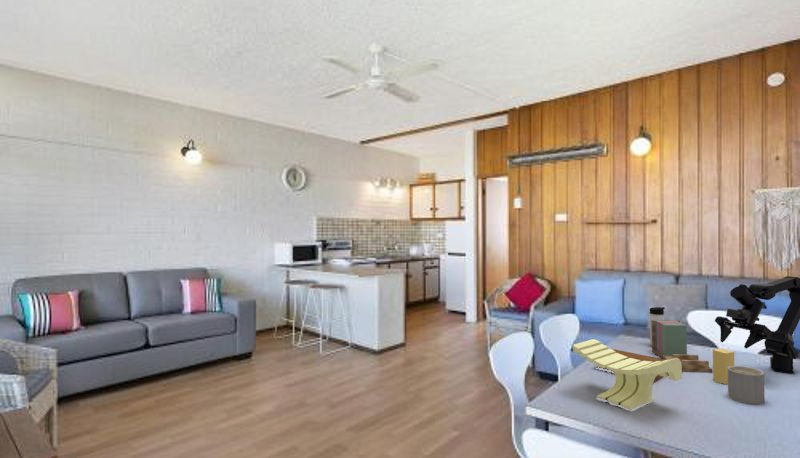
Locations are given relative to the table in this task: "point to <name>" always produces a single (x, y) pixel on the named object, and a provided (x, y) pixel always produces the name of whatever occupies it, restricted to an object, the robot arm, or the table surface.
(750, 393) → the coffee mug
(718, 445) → the table surface
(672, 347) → the book row
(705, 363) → the shelf slot board
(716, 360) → the pale yellow cuboid
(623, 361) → the slatted curved stool
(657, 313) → the travel mug
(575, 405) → the table surface
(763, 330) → the robot arm
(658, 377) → the diary
